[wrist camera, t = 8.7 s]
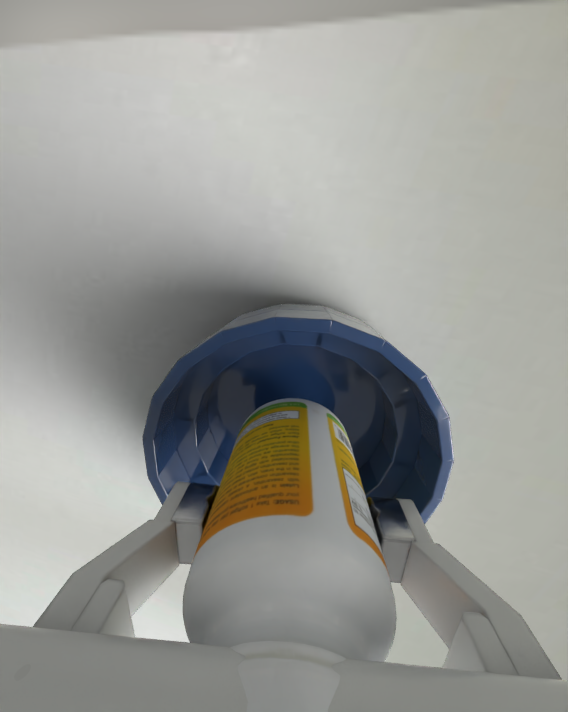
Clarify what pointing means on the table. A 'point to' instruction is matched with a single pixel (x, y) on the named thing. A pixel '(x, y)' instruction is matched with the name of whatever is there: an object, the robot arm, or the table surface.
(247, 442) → the supplement bottle
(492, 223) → the table surface
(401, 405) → the blue bowl
